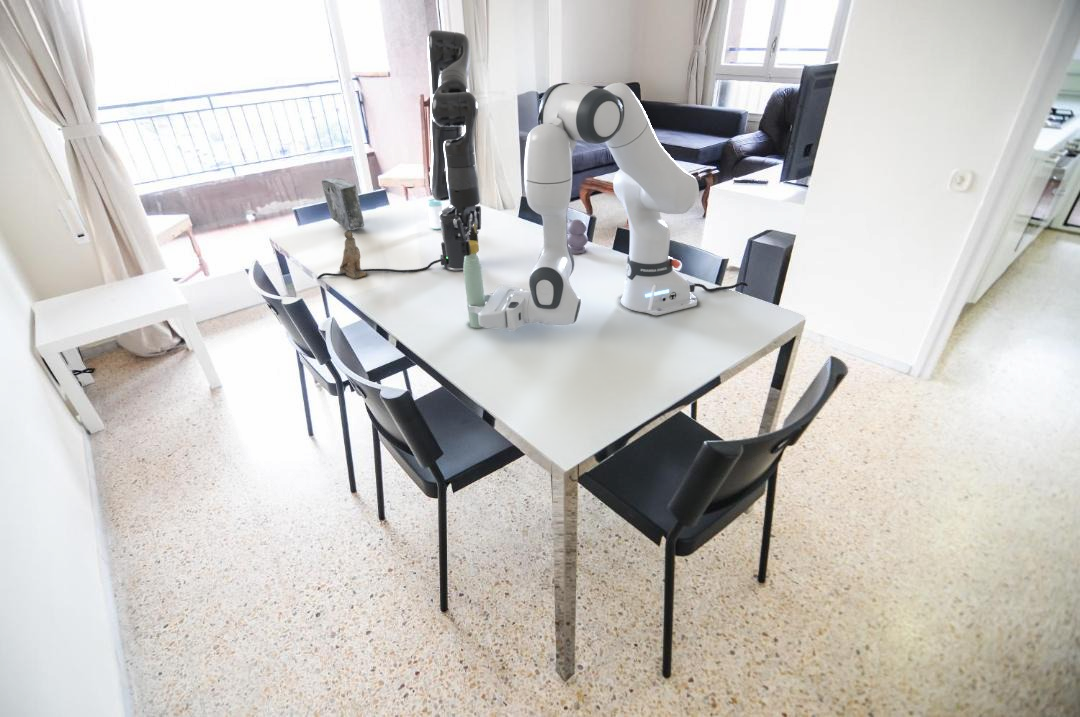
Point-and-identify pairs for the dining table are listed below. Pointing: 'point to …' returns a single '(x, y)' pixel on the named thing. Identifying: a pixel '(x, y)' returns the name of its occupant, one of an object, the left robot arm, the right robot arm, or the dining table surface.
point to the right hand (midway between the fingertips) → (473, 303)
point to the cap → (473, 246)
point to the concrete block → (343, 202)
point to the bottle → (473, 286)
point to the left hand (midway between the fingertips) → (470, 251)
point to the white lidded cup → (435, 213)
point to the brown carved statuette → (351, 258)
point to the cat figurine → (577, 236)
